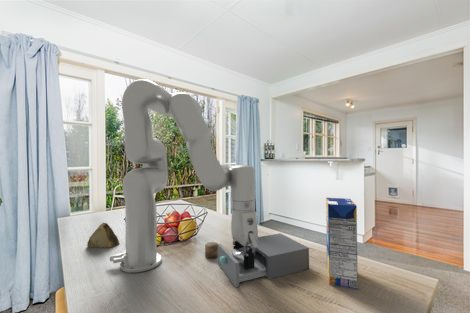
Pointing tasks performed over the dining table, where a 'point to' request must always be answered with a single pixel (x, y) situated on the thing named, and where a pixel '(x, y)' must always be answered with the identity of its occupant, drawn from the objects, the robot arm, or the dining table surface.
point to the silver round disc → (239, 254)
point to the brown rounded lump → (211, 250)
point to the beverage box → (342, 242)
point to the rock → (103, 237)
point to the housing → (282, 255)
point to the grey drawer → (240, 267)
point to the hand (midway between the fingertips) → (243, 262)
